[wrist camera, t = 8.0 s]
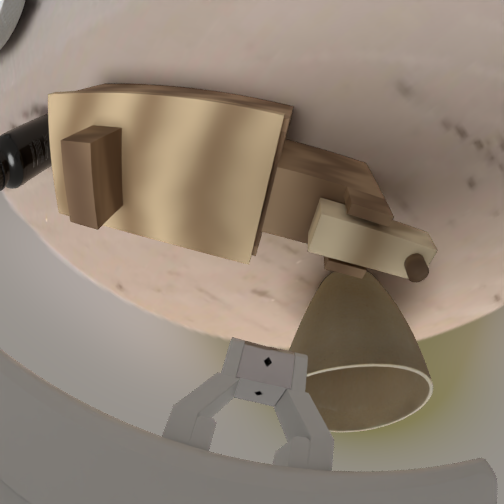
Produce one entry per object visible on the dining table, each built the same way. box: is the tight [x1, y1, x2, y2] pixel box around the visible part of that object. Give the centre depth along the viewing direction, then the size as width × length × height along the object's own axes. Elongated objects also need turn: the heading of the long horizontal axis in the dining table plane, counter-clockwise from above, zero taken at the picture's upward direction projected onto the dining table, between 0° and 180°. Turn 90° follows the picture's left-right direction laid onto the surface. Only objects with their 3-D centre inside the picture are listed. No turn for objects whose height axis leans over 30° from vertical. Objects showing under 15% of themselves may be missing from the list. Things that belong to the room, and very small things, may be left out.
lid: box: [48, 91, 285, 265], centre depth 20 cm, size 21×13×6 cm, turn 79°
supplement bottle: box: [0, 114, 52, 191], centre depth 24 cm, size 7×7×12 cm
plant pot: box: [289, 271, 433, 432], centre depth 28 cm, size 15×15×16 cm
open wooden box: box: [78, 84, 394, 279], centre depth 23 cm, size 28×12×11 cm, turn 79°
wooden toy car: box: [308, 198, 437, 282], centre depth 19 cm, size 9×3×4 cm, turn 79°
